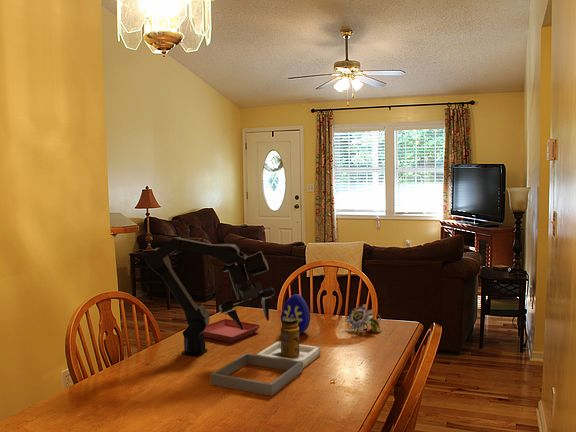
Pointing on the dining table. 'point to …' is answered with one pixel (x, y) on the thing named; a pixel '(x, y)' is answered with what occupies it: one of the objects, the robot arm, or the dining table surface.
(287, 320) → the condiment
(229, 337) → the plant saucer
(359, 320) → the passion flower
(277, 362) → the gray square frame
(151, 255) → the robot arm
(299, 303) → the ornament
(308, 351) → the tray
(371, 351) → the dining table surface
